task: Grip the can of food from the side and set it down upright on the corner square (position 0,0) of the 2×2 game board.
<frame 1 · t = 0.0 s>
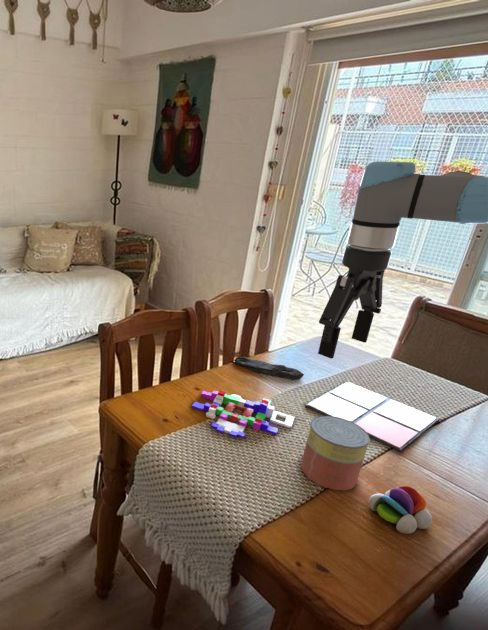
hand: (342, 347, 91), 31 cm above the table, tool pointing down, fingers open, 13 cm apart
board: (369, 414, 123), on the table
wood: (265, 372, 146), on the table
rainbow cloud toy: (396, 519, 89), on the table
canned food: (327, 474, 101), on the table
building block set: (239, 418, 121), on the table
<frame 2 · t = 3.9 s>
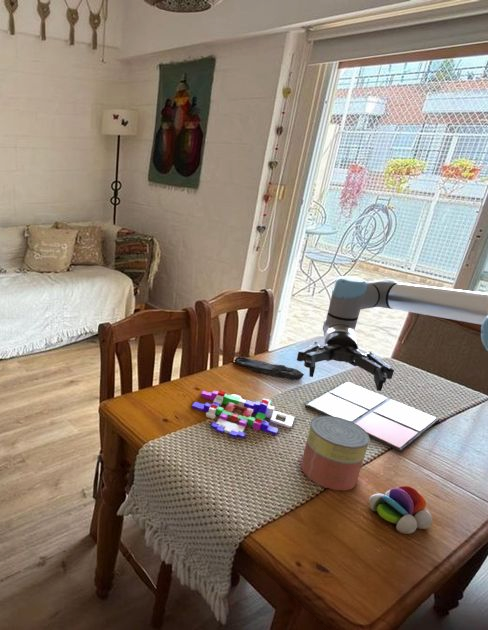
hand: (345, 378, 101), 20 cm above the table, tool horizontal, fingers open, 13 cm apart
nothing on the table moved.
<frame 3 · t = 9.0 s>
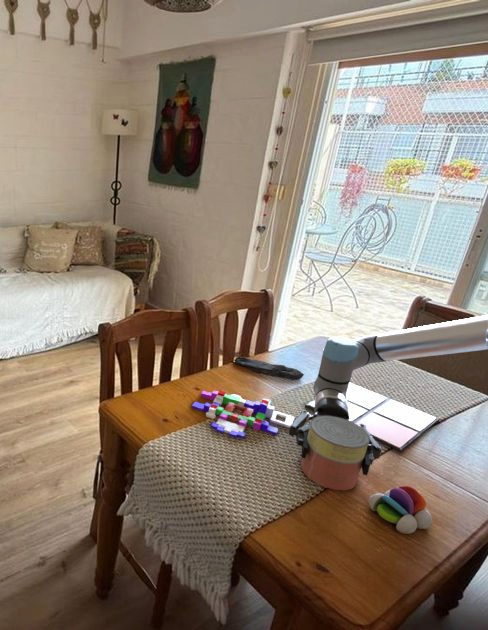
hand: (334, 461, 95), 7 cm above the table, tool horizontal, fingers closed on canned food, 11 cm apart
canned food: (327, 474, 101), on the table, touching gripper
everything else where it was.
when the fingers open (8 cm above the table, at t = 19.4 s): canned food stays where it is, resting on board.
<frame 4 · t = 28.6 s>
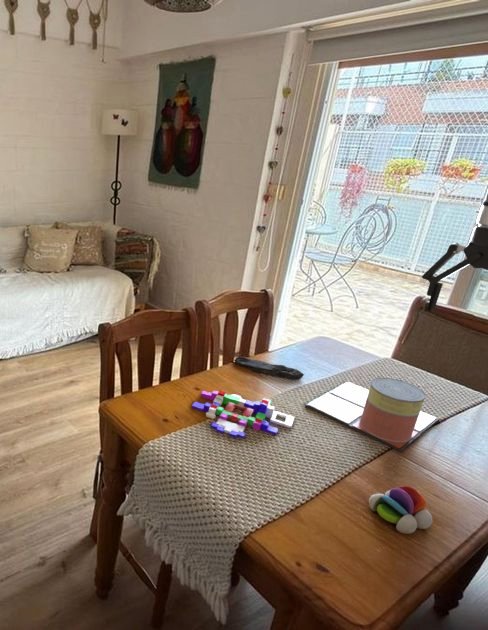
hand: (465, 318, 102), 33 cm above the table, tool pointing down, fingers open, 13 cm apart
canned food: (384, 429, 115), point 1 cm above the table, touching board
everything else where it was.
at the end: canned food inside the target area on the board (0.1 cm from its centre), point 1.0 cm above the board's base; canned food tilted 0°; the gripper is holding nothing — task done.
